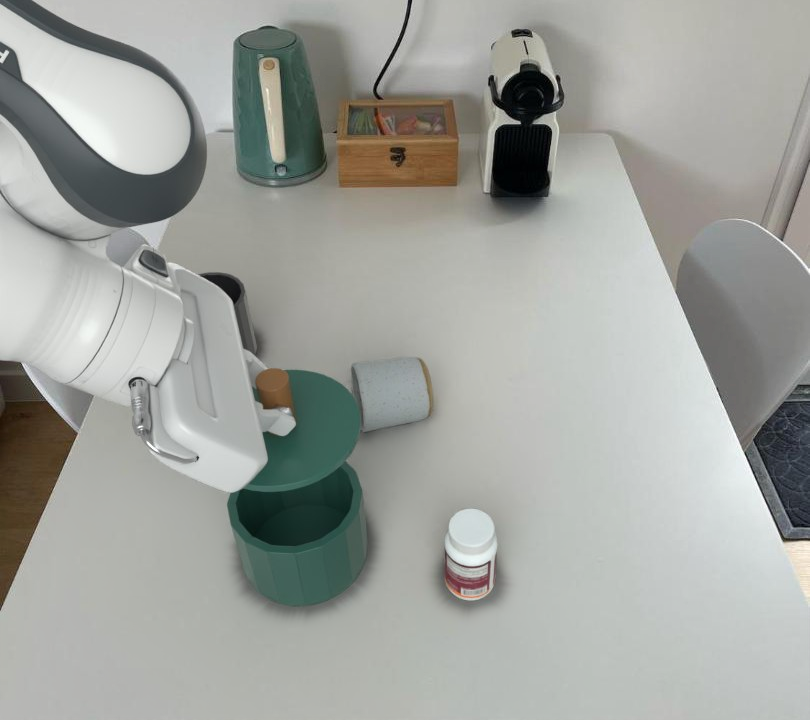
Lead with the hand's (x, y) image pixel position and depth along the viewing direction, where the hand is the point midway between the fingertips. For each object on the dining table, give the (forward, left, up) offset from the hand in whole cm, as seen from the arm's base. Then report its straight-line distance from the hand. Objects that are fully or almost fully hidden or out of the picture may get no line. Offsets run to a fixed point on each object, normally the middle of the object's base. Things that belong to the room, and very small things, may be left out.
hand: (285, 406), depth 65 cm
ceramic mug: (+12, +17, -21) cm, 29 cm away
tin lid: (-1, 0, -2) cm, 3 cm away
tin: (-1, +1, -20) cm, 20 cm away
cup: (-5, +32, -20) cm, 39 cm away
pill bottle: (+13, -7, -21) cm, 26 cm away
